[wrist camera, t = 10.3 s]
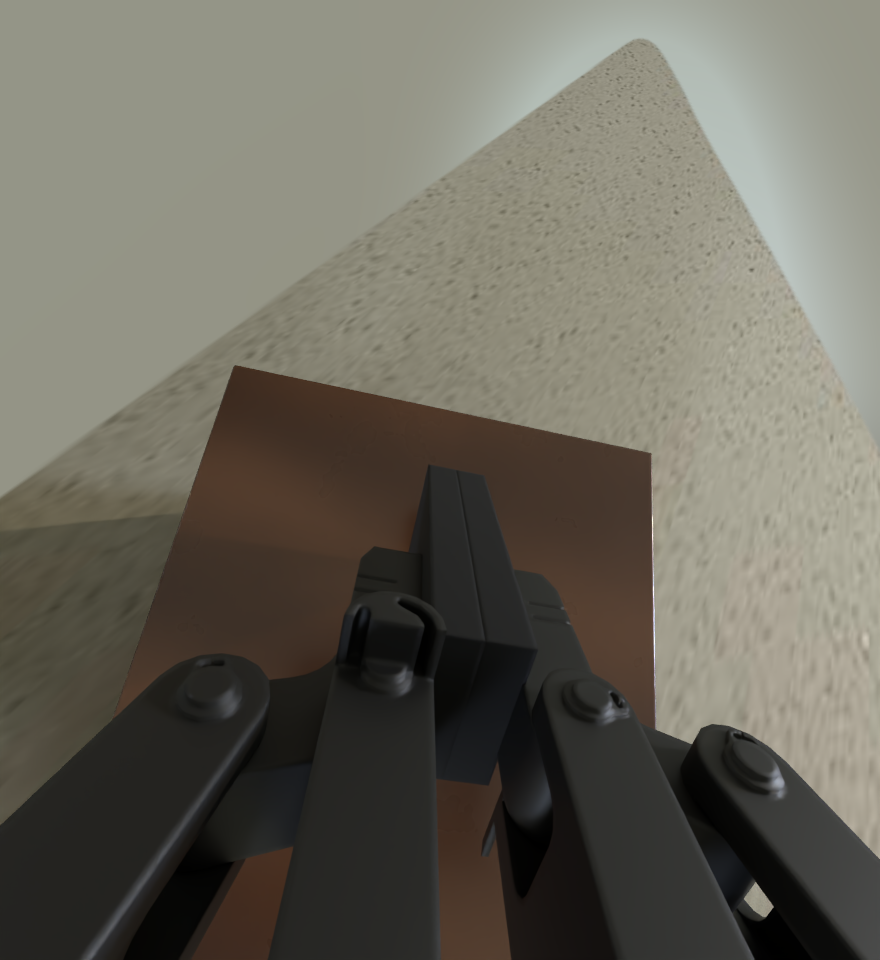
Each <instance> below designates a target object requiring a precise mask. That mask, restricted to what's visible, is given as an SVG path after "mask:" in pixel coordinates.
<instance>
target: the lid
mask: <svg viewBox="0 0 880 960" xmlns="http://www.w3.org/2000/svg"><path fill="white" fill-rule="evenodd" d="M428 464H429V465H434V466H440V467H445V468H450V469H455V470H460V471H465V472H470V473H475V474H480V475H485V478H486V482H487V485H488V488H489V491H490V495H491V498H492V501H493V504H494V508H495V511H496V514H497V517H498V521H499V524H500V527H501V530H502V533H503V537H504V540H505V543H506V546H507V550H508V553H509V556H510V559H511V563H512V566H513V569H515V570H521V571H527V572H532V573H538V574H542V575H543V576H544V577H545V578H546V579H547V580H548V581H549V582H550V583H551V584H552V585H553V586H554V587H555V588H556V589H557V591H558V593H559V596H560V598H561V600H562V603H563V605H564V610H566V612H567V614H568V617H569V619H570V621H571V622H570V625H572V626H573V628H574V631H575V633H576V635H577V638H578V640H579V642H580V644H581V647H582V649H583V651H584V654H585V656H586V658H587V661H588V663H589V665H590V668H591V670H592V672H593V674H595V675H597V676H599V677H600V678H602V679H604V680H606V681H608V682H609V683H610V684H612V685H613V686H614V687H615V688H616V689H617V690H618V691H620V692H621V693H622V694H623V695H624V697H625V698H626V699H627V701H628V702H629V704H630V705H631V707H632V708H633V710H634V712H635V714H636V716H637V718H638V720H639V722H640V723H642V724H644V725H646V726H648V727H650V728H652V729H655V730H656V685H655V622H654V559H653V496H652V454H651V453H648V452H643V451H638V450H633V449H629V448H624V447H619V446H614V445H610V444H605V443H600V442H596V441H591V440H586V439H581V438H577V437H572V436H567V435H562V434H558V433H553V432H548V431H544V430H539V429H534V428H529V427H525V426H520V425H515V424H510V423H506V422H501V421H496V420H492V419H487V418H482V417H477V416H473V415H468V414H463V413H458V412H454V411H449V410H444V409H440V408H435V407H430V406H425V405H421V404H416V403H411V402H406V401H402V400H397V399H392V398H387V397H383V396H378V395H373V394H369V393H364V392H359V391H354V390H350V389H345V388H340V387H335V386H331V385H326V384H321V383H317V382H312V381H307V380H302V379H298V378H293V377H288V376H283V375H279V374H274V373H269V372H265V371H260V370H255V369H250V368H246V367H241V366H236V365H235V366H234V367H233V370H232V373H231V376H230V379H229V382H228V384H227V387H226V390H225V393H224V396H223V399H222V402H221V405H220V408H219V411H218V413H217V416H216V419H215V422H214V425H213V428H212V431H211V434H210V437H209V440H208V443H207V445H206V448H205V451H204V454H203V457H202V460H201V463H200V466H199V469H198V472H197V474H196V477H195V480H194V483H193V486H192V489H191V492H190V495H189V498H188V501H187V504H186V506H185V509H184V512H183V515H182V518H181V521H180V524H179V527H178V530H177V533H176V535H175V538H174V541H173V544H172V547H171V550H170V553H169V556H168V559H167V562H166V565H165V567H164V570H163V573H162V576H161V579H160V582H159V585H158V588H157V591H156V594H155V596H154V599H153V602H152V605H151V608H150V611H149V614H148V617H147V620H146V623H145V626H144V628H143V631H142V634H141V637H140V640H139V643H138V646H137V649H136V652H135V655H134V657H133V660H132V663H131V666H130V669H129V672H128V675H127V678H126V681H125V684H124V687H123V689H122V692H121V695H120V698H119V701H118V704H117V707H116V710H115V713H114V716H113V718H112V720H113V719H114V718H115V717H116V716H117V715H118V714H119V713H120V712H121V711H122V710H123V709H124V708H126V707H127V706H128V705H129V704H130V703H131V702H132V701H133V700H134V699H135V698H136V697H137V696H138V695H139V694H140V693H141V692H142V691H144V690H145V689H146V688H147V687H148V686H149V685H150V684H151V683H152V682H153V681H154V680H155V679H156V678H157V677H158V676H160V675H161V674H163V673H164V672H165V671H167V670H168V669H170V668H171V667H173V666H174V665H176V664H177V663H179V662H182V661H185V660H188V659H191V658H193V657H196V656H199V655H207V654H219V653H225V654H230V655H236V656H241V657H244V658H246V659H248V660H250V661H251V662H253V663H255V664H257V665H259V666H260V668H261V669H262V670H263V672H264V673H265V675H266V676H267V677H268V679H269V680H272V679H281V678H290V677H295V676H300V675H305V674H308V673H310V672H313V671H315V670H318V669H320V668H321V667H323V666H324V665H325V664H327V663H328V662H330V661H331V660H332V658H333V657H334V656H335V655H336V654H337V651H338V645H339V640H340V634H341V629H342V623H343V618H344V613H345V612H346V610H347V608H348V607H349V605H350V603H351V599H352V595H353V591H354V586H355V582H356V577H357V573H358V569H359V564H360V560H361V557H362V556H364V555H365V554H366V553H367V552H368V551H369V550H371V549H372V548H373V547H374V546H376V547H381V548H387V549H393V550H398V551H404V552H409V547H410V543H411V539H412V534H413V530H414V525H415V521H416V516H417V512H418V508H419V503H420V499H421V494H422V490H423V485H424V481H425V477H426V472H427V468H428ZM501 790H502V784H501V778H500V771H499V765H498V761H497V764H496V767H495V769H494V772H493V775H492V778H491V780H490V783H489V786H487V785H479V784H471V783H464V782H456V781H448V780H440V779H436V793H437V830H438V868H439V905H440V943H441V960H511V953H510V945H509V937H508V929H507V921H506V913H505V906H504V898H503V890H502V882H501V874H500V866H499V858H498V850H497V842H496V839H495V841H494V844H493V846H492V849H491V851H490V854H489V856H488V857H484V856H481V851H482V840H483V837H484V835H485V832H486V830H487V827H488V824H489V822H490V819H491V816H492V814H493V811H494V809H495V806H496V803H497V801H498V798H499V795H500V793H501ZM292 851H293V847H289V848H285V849H281V850H277V851H273V852H269V853H265V854H261V855H257V856H253V857H249V858H246V860H245V862H244V864H243V866H242V867H241V869H240V871H239V873H238V875H237V877H236V878H235V880H234V882H233V884H232V886H231V887H230V889H229V891H228V893H227V895H226V897H225V898H224V900H223V902H222V904H221V906H220V908H219V909H218V911H217V913H216V915H215V917H214V918H213V920H212V922H211V924H210V926H209V928H208V929H207V931H206V933H205V935H204V937H203V939H202V940H201V942H200V944H199V946H198V948H197V949H196V951H195V953H194V955H193V957H192V959H191V960H268V956H269V952H270V947H271V943H272V938H273V934H274V930H275V925H276V921H277V917H278V912H279V908H280V903H281V899H282V895H283V890H284V886H285V882H286V877H287V873H288V868H289V864H290V860H291V855H292Z"/></svg>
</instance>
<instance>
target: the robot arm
mask: <svg viewBox="0 0 880 960" xmlns="http://www.w3.org/2000/svg"><path fill="white" fill-rule="evenodd" d="M570 622H571V621H570V619H569V617H568V614H567V612H566V610H564V605H563V603H562V600H561V598H560V596H559V593H558V591H557V589H556V588H555V587H554V586H553V585H552V584H551V583H550V582H549V581H548V580H547V579H546V578H545V577H544V576H543V575H542V574H538V573H532V572H527V571H521V570H515V569H513V566H512V563H511V559H510V556H509V553H508V550H507V546H506V543H505V540H504V537H503V533H502V530H501V527H500V524H499V521H498V517H497V514H496V511H495V508H494V504H493V501H492V498H491V495H490V491H489V488H488V485H487V482H486V478H485V475H480V474H475V473H470V472H465V471H460V470H455V469H450V468H445V467H440V466H434V465H429V464H428V468H427V472H426V477H425V481H424V485H423V490H422V494H421V499H420V503H419V508H418V512H417V516H416V521H415V525H414V530H413V534H412V539H411V543H410V547H409V552H404V551H398V550H393V549H387V548H381V547H376V546H374V547H373V548H372V549H371V550H369V551H368V552H367V553H366V554H365V555H364V556H362V557H361V560H360V564H359V569H358V573H357V577H356V582H355V586H354V591H353V595H352V599H351V603H350V605H349V607H348V608H347V610H346V612H345V613H344V618H343V623H342V629H341V634H340V640H339V645H338V651H337V654H336V655H335V656H334V657H333V658H332V660H331V661H330V662H328V663H327V664H325V665H324V666H323V667H321V668H320V669H318V670H315V671H313V672H310V673H308V674H305V675H300V676H295V677H290V678H281V679H272V680H269V679H268V677H267V676H266V675H265V673H264V672H263V670H262V669H261V668H260V666H259V665H257V664H255V663H253V662H251V661H250V660H248V659H246V658H244V657H241V656H236V655H230V654H225V653H219V654H207V655H199V656H196V657H193V658H191V659H188V660H185V661H182V662H179V663H177V664H176V665H174V666H173V667H171V668H170V669H168V670H167V671H165V672H164V673H163V674H161V675H160V676H158V677H157V678H156V679H155V680H154V681H153V682H152V683H151V684H150V685H149V686H148V687H147V688H146V689H145V690H144V691H142V692H141V693H140V694H139V695H138V696H137V697H136V698H135V699H134V700H133V701H132V702H131V703H130V704H129V705H128V706H127V707H126V708H124V709H123V710H122V711H121V712H120V713H119V714H118V715H117V716H116V717H115V718H114V719H113V720H112V721H111V722H110V723H109V724H107V725H106V726H105V727H104V728H103V729H102V730H101V731H100V732H99V733H98V734H97V735H96V736H95V737H94V738H93V739H92V740H91V741H89V742H88V743H87V744H86V745H85V746H84V747H83V748H82V749H81V750H80V751H79V752H78V753H77V754H76V755H75V756H74V757H73V758H71V759H70V760H69V761H68V762H67V763H66V764H65V765H64V766H63V767H62V768H61V769H60V770H59V771H58V772H57V773H56V774H54V775H53V776H52V777H51V778H50V779H49V780H48V781H47V782H46V783H45V784H44V785H43V786H42V787H41V788H40V789H39V790H38V791H36V792H35V793H34V794H33V795H32V796H31V797H30V798H29V799H28V800H27V801H26V802H25V803H24V804H23V805H22V806H21V807H20V808H18V809H17V810H16V811H15V812H14V813H13V814H12V815H11V816H10V817H9V818H8V819H7V820H6V821H5V822H4V823H3V824H1V825H0V960H191V959H192V957H193V955H194V953H195V951H196V949H197V948H198V946H199V944H200V942H201V940H202V939H203V937H204V935H205V933H206V931H207V929H208V928H209V926H210V924H211V922H212V920H213V918H214V917H215V915H216V913H217V911H218V909H219V908H220V906H221V904H222V902H223V900H224V898H225V897H226V895H227V893H228V891H229V889H230V887H231V886H232V884H233V882H234V880H235V878H236V877H237V875H238V873H239V871H240V869H241V867H242V866H243V864H244V862H245V860H246V858H249V857H253V856H257V855H261V854H265V853H269V852H273V851H277V850H281V849H285V848H289V847H293V851H292V855H291V860H290V864H289V868H288V873H287V877H286V882H285V886H284V890H283V895H282V899H281V903H280V908H279V912H278V917H277V921H276V925H275V930H274V934H273V938H272V943H271V947H270V952H269V956H268V960H441V943H440V905H439V868H438V830H437V793H436V779H440V780H448V781H456V782H464V783H471V784H479V785H487V786H489V783H490V780H491V778H492V775H493V772H494V769H495V767H496V764H497V761H498V765H499V771H500V778H501V784H502V790H501V793H500V795H499V798H498V801H497V803H496V806H495V809H494V811H493V814H492V816H491V819H490V822H489V824H488V827H487V830H486V832H485V835H484V837H483V840H482V851H481V856H484V857H488V856H489V854H490V851H491V849H492V846H493V844H494V841H495V839H496V842H497V850H498V858H499V866H500V874H501V882H502V890H503V898H504V906H505V913H506V921H507V929H508V937H509V945H510V953H511V960H880V859H879V858H878V857H877V856H876V855H875V854H874V853H873V852H872V851H871V850H870V849H869V848H868V847H867V846H866V845H865V844H864V843H863V842H862V841H861V839H860V838H859V837H858V836H857V835H856V834H855V833H854V832H853V831H852V830H851V829H850V828H849V827H848V826H847V825H846V824H845V823H844V822H843V821H842V820H841V819H840V818H839V817H838V816H837V814H836V813H835V812H834V811H833V810H832V809H831V808H830V807H829V806H828V805H827V804H826V803H825V802H824V801H823V800H822V799H821V798H820V797H819V796H818V795H817V794H816V793H815V792H814V791H813V789H812V788H811V787H810V786H809V785H808V784H807V783H806V782H805V781H804V780H803V779H802V778H801V777H800V776H799V775H798V774H797V773H796V772H795V771H794V770H793V769H792V768H791V767H790V765H789V764H788V763H787V762H785V761H784V760H783V759H782V758H781V757H780V756H779V755H777V754H776V753H775V752H774V751H773V750H772V749H771V748H770V747H768V746H767V745H765V744H764V743H762V742H760V741H759V740H757V739H756V738H754V737H753V736H751V735H749V734H748V733H745V732H742V731H740V730H737V729H735V728H732V727H730V726H724V725H715V724H711V725H709V726H706V727H703V728H701V729H700V731H699V733H698V735H697V737H696V738H695V740H694V742H693V744H689V743H687V742H684V741H682V740H679V739H677V738H674V737H672V736H670V735H667V734H665V733H662V732H660V731H657V730H655V729H652V728H650V727H648V726H646V725H644V724H642V723H640V722H639V720H638V718H637V716H636V714H635V712H634V710H633V708H632V707H631V705H630V704H629V702H628V701H627V699H626V698H625V697H624V695H623V694H622V693H621V692H620V691H618V690H617V689H616V688H615V687H614V686H613V685H612V684H610V683H609V682H608V681H606V680H604V679H602V678H600V677H599V676H597V675H595V674H593V672H592V670H591V668H590V665H589V663H588V661H587V658H586V656H585V654H584V651H583V649H582V647H581V644H580V642H579V640H578V638H577V635H576V633H575V631H574V628H573V626H572V625H570ZM755 882H756V883H757V884H758V885H759V887H760V888H761V890H762V891H763V892H764V894H765V895H766V896H767V898H768V899H769V901H770V902H771V903H772V905H773V906H774V908H773V909H772V910H771V912H770V913H769V914H768V915H767V917H762V916H761V915H759V914H758V913H756V912H755V911H753V909H752V908H751V907H750V906H749V905H748V904H747V902H746V901H745V900H744V897H745V896H746V895H747V893H748V892H749V890H750V889H751V888H752V886H753V885H754V883H755Z"/></svg>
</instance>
